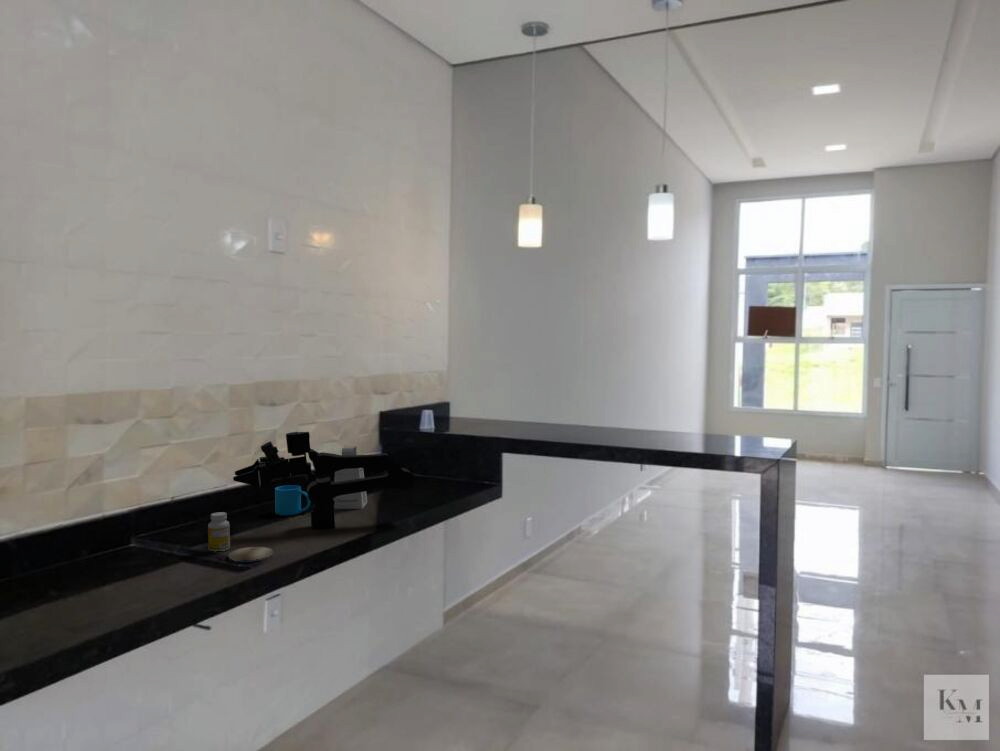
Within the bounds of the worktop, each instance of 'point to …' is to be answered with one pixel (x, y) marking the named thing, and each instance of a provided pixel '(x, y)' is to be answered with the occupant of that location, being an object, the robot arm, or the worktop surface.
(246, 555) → the oak coaster
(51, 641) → the worktop surface
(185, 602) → the worktop surface
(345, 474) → the grater
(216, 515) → the supplement bottle
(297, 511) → the mug
